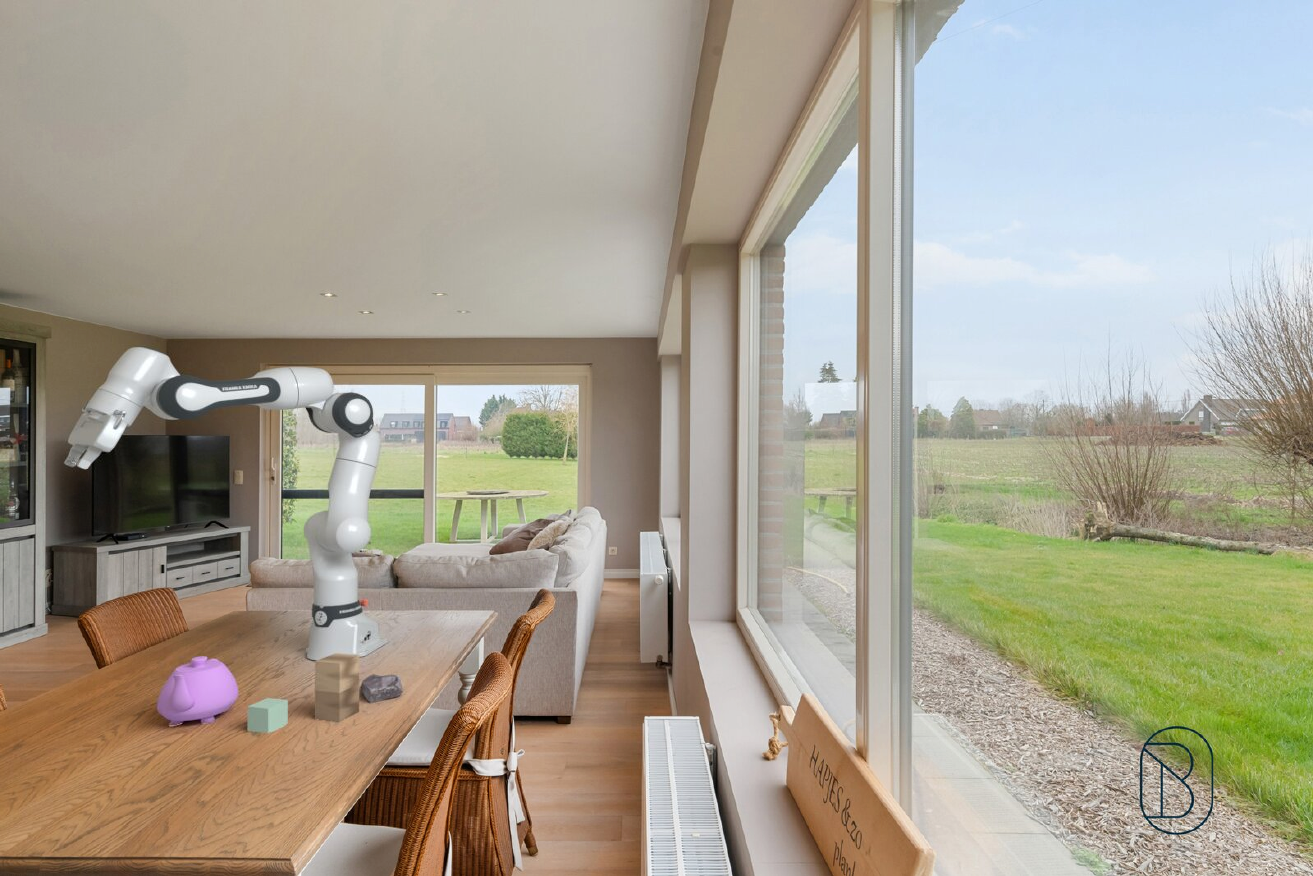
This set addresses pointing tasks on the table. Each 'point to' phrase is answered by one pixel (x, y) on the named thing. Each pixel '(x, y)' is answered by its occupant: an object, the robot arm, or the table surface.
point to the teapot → (197, 691)
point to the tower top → (336, 672)
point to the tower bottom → (336, 704)
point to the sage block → (267, 715)
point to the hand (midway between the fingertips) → (74, 466)
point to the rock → (381, 687)
